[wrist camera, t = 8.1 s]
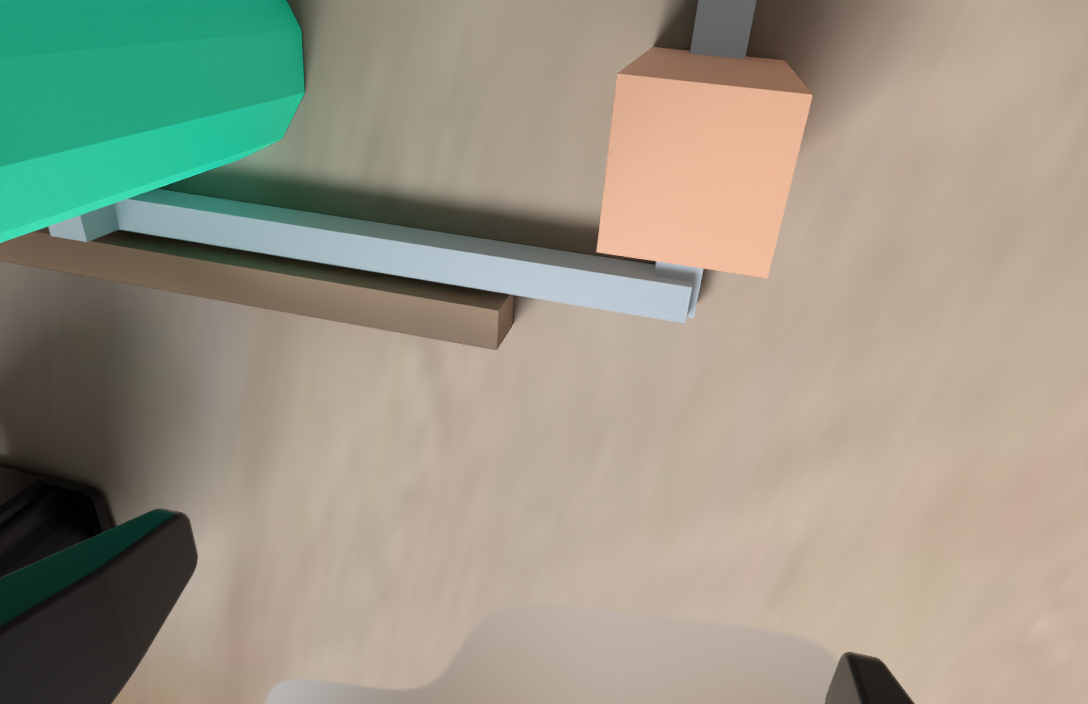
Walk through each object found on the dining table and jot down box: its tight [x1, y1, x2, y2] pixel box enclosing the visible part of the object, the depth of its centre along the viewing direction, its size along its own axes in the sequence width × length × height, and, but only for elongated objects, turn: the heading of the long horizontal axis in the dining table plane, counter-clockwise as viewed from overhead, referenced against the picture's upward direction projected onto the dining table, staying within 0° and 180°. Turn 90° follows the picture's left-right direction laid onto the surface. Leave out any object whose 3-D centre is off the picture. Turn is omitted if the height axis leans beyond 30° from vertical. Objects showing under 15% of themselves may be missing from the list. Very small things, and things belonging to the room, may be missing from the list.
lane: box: [0, 227, 514, 350], centre depth 19 cm, size 13×25×2 cm, turn 86°
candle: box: [0, 0, 305, 243], centre depth 14 cm, size 6×6×12 cm
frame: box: [48, 0, 813, 323], centre depth 15 cm, size 10×19×6 cm, turn 86°
